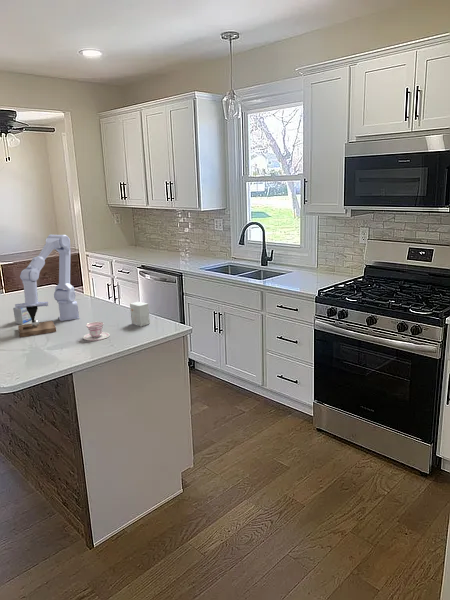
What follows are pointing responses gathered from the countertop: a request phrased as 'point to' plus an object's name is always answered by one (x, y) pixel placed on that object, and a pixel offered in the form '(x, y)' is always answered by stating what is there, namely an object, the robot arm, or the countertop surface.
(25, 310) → the medicine box
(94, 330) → the teacup
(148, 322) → the small box
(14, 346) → the countertop surface
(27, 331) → the hole plate
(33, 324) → the steel ball
